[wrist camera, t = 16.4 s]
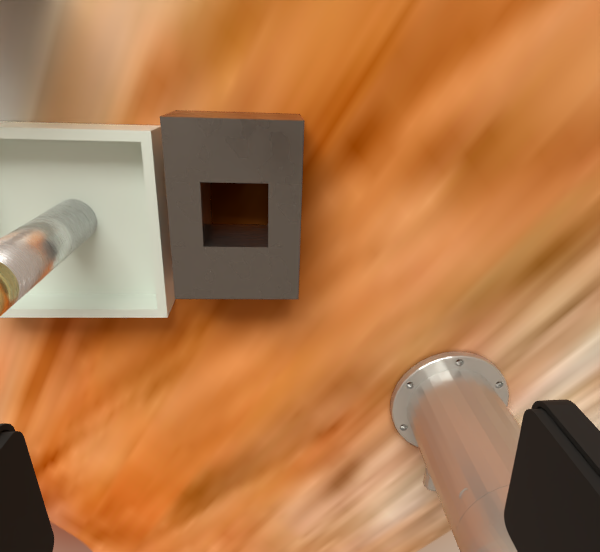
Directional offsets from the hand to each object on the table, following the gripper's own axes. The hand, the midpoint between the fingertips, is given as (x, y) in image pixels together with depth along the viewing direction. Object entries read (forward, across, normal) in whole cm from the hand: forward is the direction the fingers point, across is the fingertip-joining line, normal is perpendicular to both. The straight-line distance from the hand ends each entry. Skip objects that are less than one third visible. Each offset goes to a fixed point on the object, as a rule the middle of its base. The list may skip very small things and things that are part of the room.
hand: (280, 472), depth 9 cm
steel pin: (+33, +17, +4) cm, 37 cm away
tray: (+34, +18, +4) cm, 38 cm away
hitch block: (+34, +3, +2) cm, 34 cm away
